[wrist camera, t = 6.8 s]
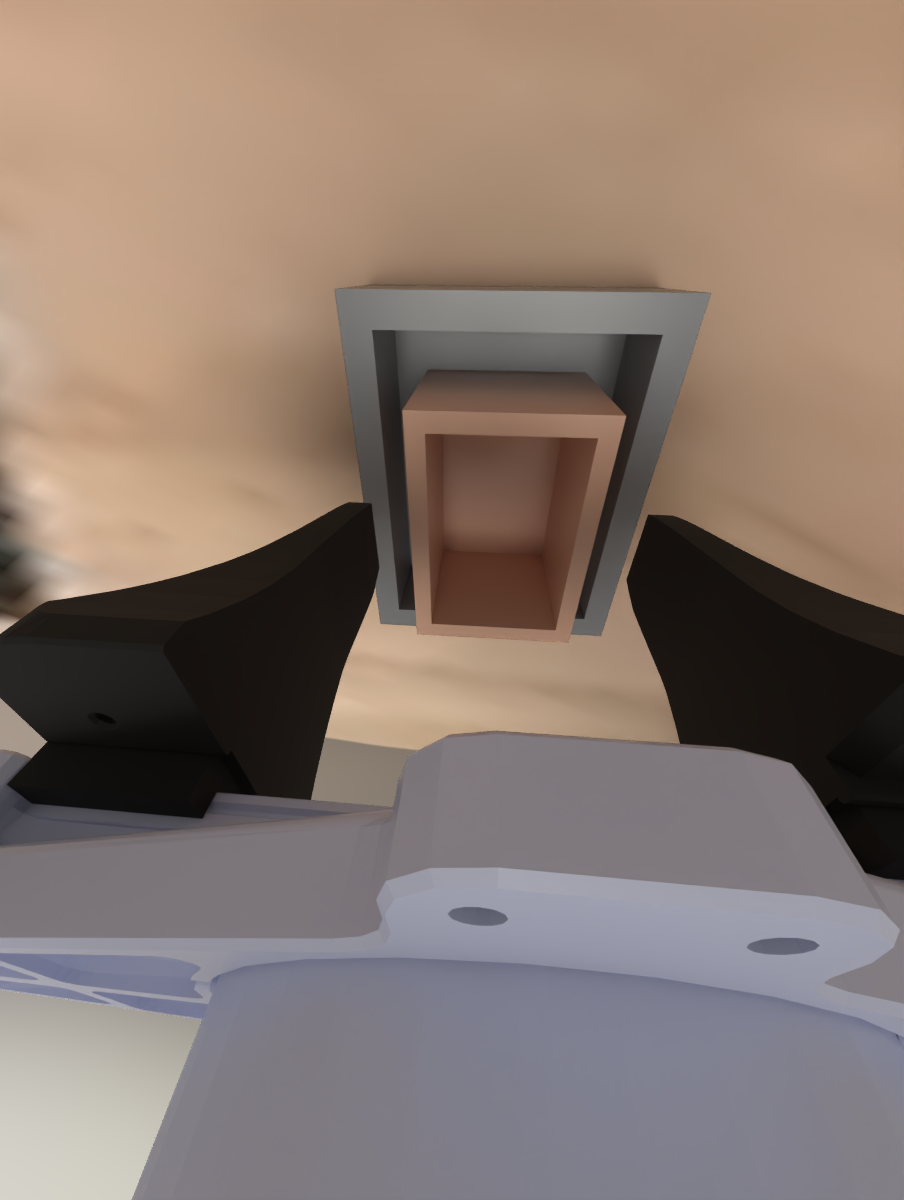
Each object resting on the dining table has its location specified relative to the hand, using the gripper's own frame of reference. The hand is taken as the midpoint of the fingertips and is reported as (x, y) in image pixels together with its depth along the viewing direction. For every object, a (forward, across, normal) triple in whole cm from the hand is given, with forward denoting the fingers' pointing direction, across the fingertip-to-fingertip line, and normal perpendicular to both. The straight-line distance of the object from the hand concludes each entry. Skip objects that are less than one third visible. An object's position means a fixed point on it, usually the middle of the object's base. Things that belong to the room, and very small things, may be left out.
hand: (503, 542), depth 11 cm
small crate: (+5, 0, 0) cm, 5 cm away
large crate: (+6, 0, 0) cm, 6 cm away
